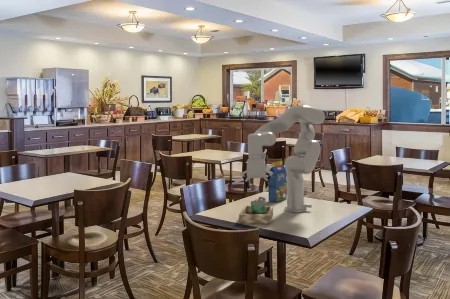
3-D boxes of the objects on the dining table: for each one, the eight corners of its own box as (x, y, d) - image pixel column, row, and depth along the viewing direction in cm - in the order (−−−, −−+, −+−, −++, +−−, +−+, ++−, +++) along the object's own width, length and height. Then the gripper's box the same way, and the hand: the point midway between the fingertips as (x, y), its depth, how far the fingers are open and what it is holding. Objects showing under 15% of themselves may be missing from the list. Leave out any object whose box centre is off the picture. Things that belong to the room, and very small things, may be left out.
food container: (261, 220, 227) (261, 202, 225) (250, 219, 229) (250, 201, 228) (270, 215, 237) (269, 197, 236) (259, 214, 240) (259, 196, 239)
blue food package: (268, 201, 276) (267, 162, 273) (278, 198, 285) (278, 160, 282) (276, 202, 272) (276, 163, 269) (286, 199, 281) (286, 160, 278)
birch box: (273, 214, 242) (272, 206, 242) (269, 224, 223) (269, 215, 222) (244, 214, 245) (244, 205, 245) (239, 223, 226) (239, 214, 225)
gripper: (272, 155, 233) (273, 186, 235) (240, 156, 236) (242, 187, 238) (271, 157, 225) (272, 189, 227) (238, 158, 229) (240, 190, 231)
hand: (257, 188), depth 233 cm, fingers open, 9 cm apart
